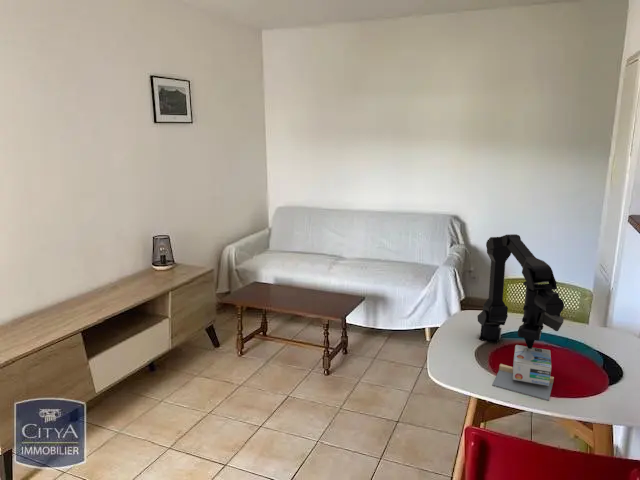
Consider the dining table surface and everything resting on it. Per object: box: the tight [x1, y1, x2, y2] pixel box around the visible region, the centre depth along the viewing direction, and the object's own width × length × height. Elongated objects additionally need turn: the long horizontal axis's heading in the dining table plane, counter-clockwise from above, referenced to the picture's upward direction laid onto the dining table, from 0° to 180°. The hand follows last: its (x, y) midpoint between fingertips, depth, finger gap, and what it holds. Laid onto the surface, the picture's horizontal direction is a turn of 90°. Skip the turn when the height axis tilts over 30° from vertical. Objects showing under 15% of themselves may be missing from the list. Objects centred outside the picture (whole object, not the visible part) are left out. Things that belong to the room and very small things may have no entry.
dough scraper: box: [491, 363, 555, 401], centre depth 147 cm, size 16×12×2 cm
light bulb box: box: [512, 344, 552, 386], centre depth 149 cm, size 11×7×11 cm
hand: (530, 348), depth 152 cm, fingers closed, pressing on light bulb box
